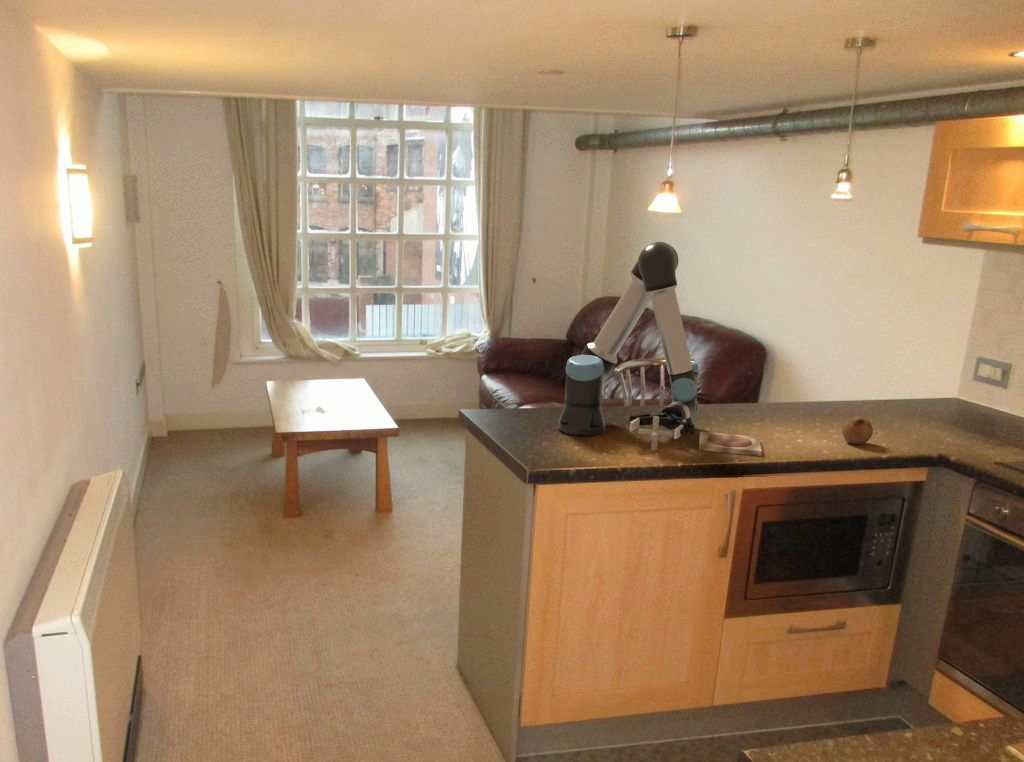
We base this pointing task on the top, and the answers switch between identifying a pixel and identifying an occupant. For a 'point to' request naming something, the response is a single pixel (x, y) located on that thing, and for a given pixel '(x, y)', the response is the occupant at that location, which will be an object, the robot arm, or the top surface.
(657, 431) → the grey toy jack
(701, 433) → the board
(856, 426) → the onion
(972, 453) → the top surface
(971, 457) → the top surface
